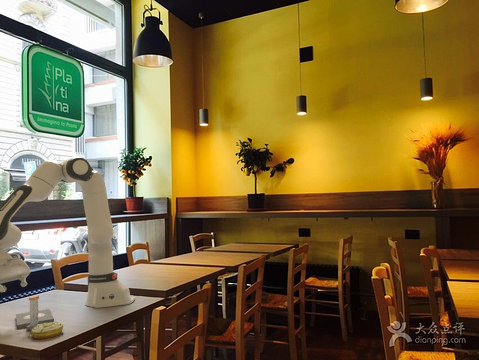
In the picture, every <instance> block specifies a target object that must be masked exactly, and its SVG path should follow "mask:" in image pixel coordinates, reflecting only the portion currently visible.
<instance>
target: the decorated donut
mask: <svg viewBox="0 0 479 360" xmlns="http://www.w3.org/2000/svg"><path fill="white" fill-rule="evenodd" d="M63 329H64V324H63V323H62V322H57V321H54V322H49V323H43V324H39V325H37V326H35V327H34V328H33V329H32V330H31V331H30V333H31V335H32V337H33V338H34V339H39V340H40V339H41V340H42V339H51V338H55V337H56V336H57V337H58V335H60V334H61V333H62V331H63Z"/></svg>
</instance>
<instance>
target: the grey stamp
mask: <svg viewBox="0 0 479 360" xmlns="http://www.w3.org/2000/svg"><path fill="white" fill-rule="evenodd" d="M39 299H40V295H33V296H30V297H28V301H29V312H30V325H29V326H26V328H25V331H26V332H32V331H31V330H32V329H33V328H34V327H35V326H37V325H39V324H38V311H39Z"/></svg>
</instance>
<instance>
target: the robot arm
mask: <svg viewBox="0 0 479 360" xmlns="http://www.w3.org/2000/svg"><path fill="white" fill-rule="evenodd" d="M60 182H63V183H69V184H70V183H71V184H72V183H76V182H77V183H78V184H79V185H80V188H81V194H82V201H83V207H84V213H85V220H86V224H87V225H86V226H87V250H88V251H87V252H88V253H87V254H88V256H87V257H88V273H87V287H88V289H87V290H88V291H87V296H86V301H85V306H88V307H92V308H94V309H98V308H107V307H115V306H117V307H118V306H123V305H126V306H127V305H130V304H131V303H133V302H134V301H135V296H134V295H131V294H130V289H129V286H127V285H126V284H124V283H123V282H121V280H119V279H118V272H115V271H114V259H113V258H114V257H113V256H114V255H113V247H112V240H113V237H114V232H115V231H114V228H113V222H112V215H111V211H110V206H109V200H108V194H107V187H106V183H105V180H104V177H103V175H102V173H101V172H99V171H96V170H94V168H93V167H92V166H91V164H90V162H89V161H88V160H87V159H86V158H84V157H82V156H73V157H70V158H68V159H66V160H65V161H63V162H60V163H59V162H56V161H54V160H52V159H51V160H50V159H48V160H44V161H43V162H42V163H40V164H39V166H37V168H36V169H35V170H34V171H33V172H32V173H31V175H30V176H29V177H28V179H27V180H26V181H25V182H24V183H23V184H21V185H19V186H18V187H16V188H15V189H14V191H12V193H11V194H9V196H8V197H7V198H6V199H5V200H4V201H3V202H2V203H1V205H0V293H4V292H6V291H7V289H8V288H7V287H6V285H2V284H5V283H8V282H12V281H16V280H19V281H21V282H20V286H21V287H22V288H24V287H27V285H28V282H27V281H26V278H27V277H28V276H30V274H31V268H30V267H29V265H28V264H27V263H26V262H25V261H24V260H23V259H21V258H22V257H21V255H20V254H18V253H11V252H7V250H9V249H10V248H12V247H14V246H16V245H17V244H18V243H19V242H20V240H21V238H22V231H21V229H20V228H19V227H18V226H17V225H15V224H13V223H12V222H11V219H12V218H13V217H14V216H15V214H17V212H18V211H19V210H20V209H21V207H22V206H23V205H24V204H26V203H28V202H42V201H45V200H46V199H47V198H49V197H50V195H51V193H53V191H54V190H55V188H56V186H57V184H59V183H60ZM5 251H6V252H5Z"/></svg>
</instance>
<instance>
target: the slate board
mask: <svg viewBox="0 0 479 360" xmlns="http://www.w3.org/2000/svg"><path fill="white" fill-rule="evenodd" d="M15 321H16V322H15V323H16V329H17V330H20V329H26V326H29V325H30V311H29V312H22V313H16V314H15ZM49 322H55V318H54V316H53V314H52V312H51V310H50V308H47V309H42V310H38V324H43V323H49Z"/></svg>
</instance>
